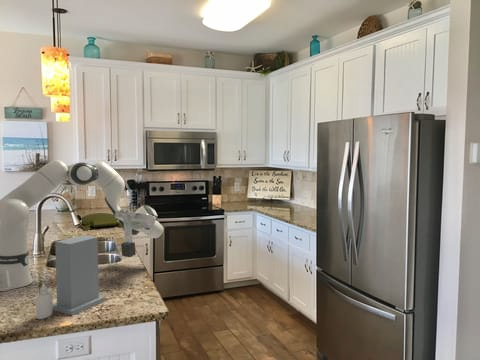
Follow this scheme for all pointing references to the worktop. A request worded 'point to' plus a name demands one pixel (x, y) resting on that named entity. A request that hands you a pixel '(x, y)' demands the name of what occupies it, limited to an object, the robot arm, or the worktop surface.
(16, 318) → the worktop surface
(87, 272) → the stand
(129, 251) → the knobbed shaft
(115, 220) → the olive green cushion
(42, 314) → the eye dropper bottle
